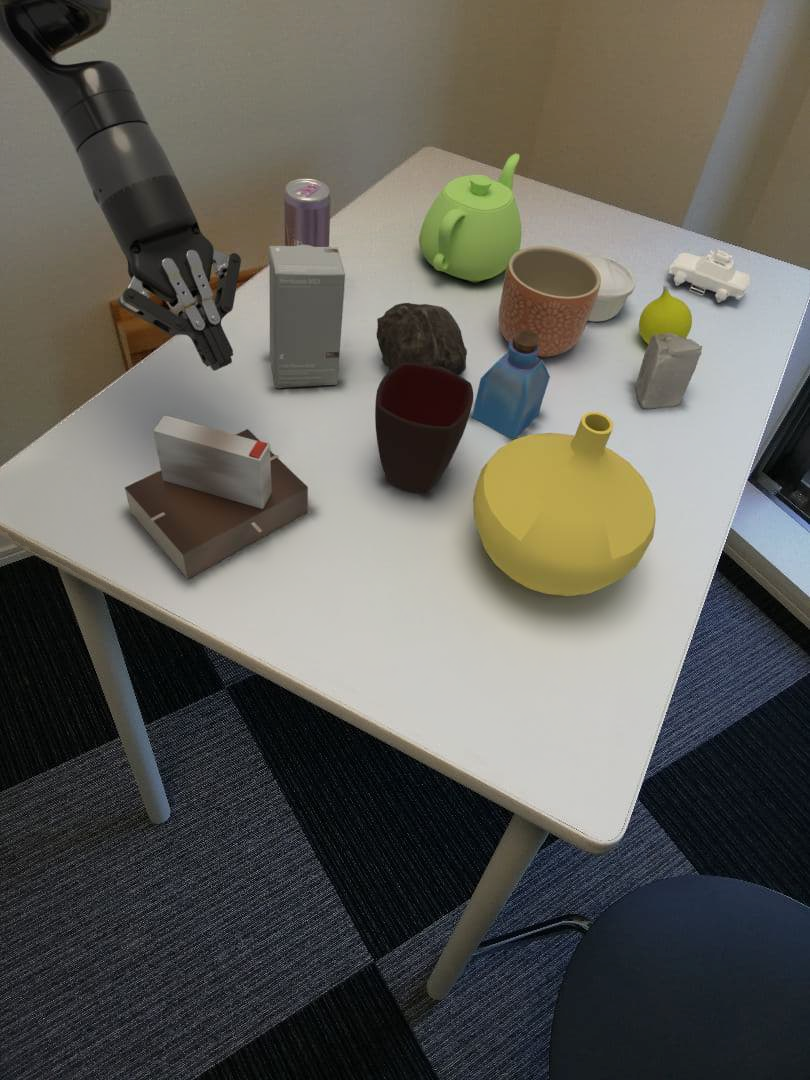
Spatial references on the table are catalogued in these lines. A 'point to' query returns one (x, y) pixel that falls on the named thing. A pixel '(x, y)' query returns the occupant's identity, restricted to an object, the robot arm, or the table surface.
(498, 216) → the teapot
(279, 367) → the cosmetic box
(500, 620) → the table surface
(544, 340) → the planter
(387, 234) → the table surface
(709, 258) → the toy car
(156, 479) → the brown rectangular plinth
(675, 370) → the mineral specimen
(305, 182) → the beverage can
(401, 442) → the mug
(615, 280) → the ramekin
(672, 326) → the ornament
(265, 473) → the red-tipped metal bar
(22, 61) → the robot arm
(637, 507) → the vase
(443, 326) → the rock
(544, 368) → the perfume bottle
